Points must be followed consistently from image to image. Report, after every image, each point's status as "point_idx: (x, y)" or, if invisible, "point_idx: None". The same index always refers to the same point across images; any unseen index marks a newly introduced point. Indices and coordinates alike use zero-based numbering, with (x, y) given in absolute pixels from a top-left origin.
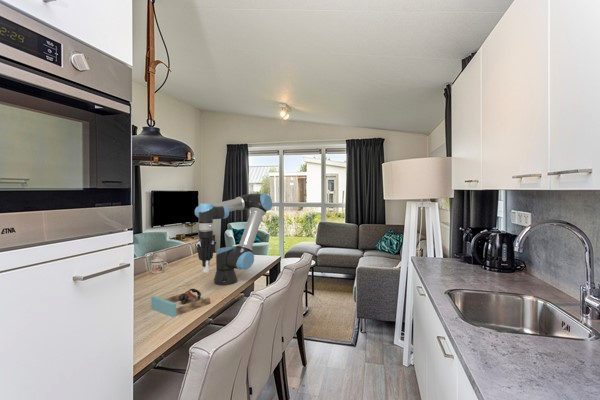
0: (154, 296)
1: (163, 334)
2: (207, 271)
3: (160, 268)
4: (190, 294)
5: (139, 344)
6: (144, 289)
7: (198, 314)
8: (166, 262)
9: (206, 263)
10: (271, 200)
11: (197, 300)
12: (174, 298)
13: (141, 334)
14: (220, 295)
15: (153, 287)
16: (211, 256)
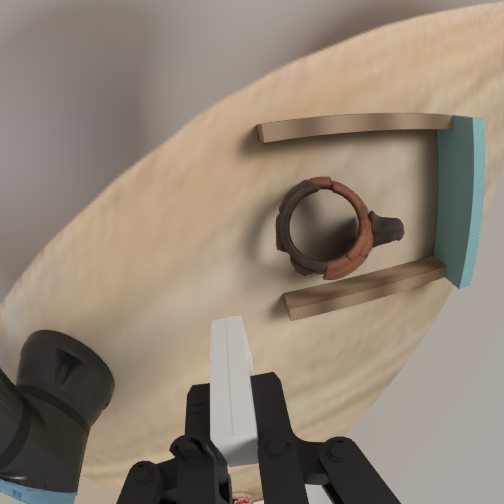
0: (463, 283)
1: (487, 32)
2: (225, 324)
3: (235, 502)
4: (363, 207)
5: None
6: (338, 430)
7: (371, 45)
8: None
9: (248, 401)
10: None
11: (314, 179)
12: (374, 282)
13: None
14: (141, 214)
15: (311, 436)
16: (146, 491)
